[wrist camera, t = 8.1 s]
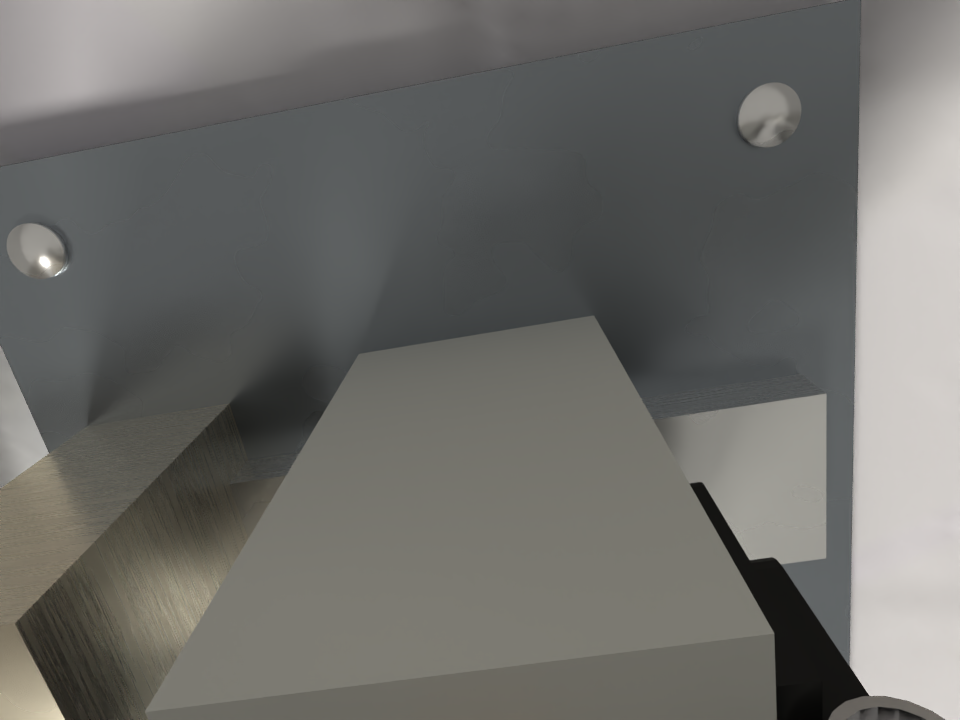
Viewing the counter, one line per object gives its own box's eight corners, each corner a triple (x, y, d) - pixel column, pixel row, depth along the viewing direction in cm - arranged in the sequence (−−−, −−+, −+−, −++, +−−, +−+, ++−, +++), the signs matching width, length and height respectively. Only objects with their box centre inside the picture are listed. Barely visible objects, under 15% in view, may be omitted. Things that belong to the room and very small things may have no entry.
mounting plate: (835, 6, 11) (1338, -181, 4) (831, 714, 16) (1057, 1101, 10) (-38, 178, 12) (-646, 227, 6) (223, 783, 17) (63, 1169, 11)
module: (594, 315, 12) (853, 775, 3) (630, 615, 14) (838, 1336, 6) (359, 353, 12) (56, 859, 4) (431, 640, 14) (348, 1359, 6)
